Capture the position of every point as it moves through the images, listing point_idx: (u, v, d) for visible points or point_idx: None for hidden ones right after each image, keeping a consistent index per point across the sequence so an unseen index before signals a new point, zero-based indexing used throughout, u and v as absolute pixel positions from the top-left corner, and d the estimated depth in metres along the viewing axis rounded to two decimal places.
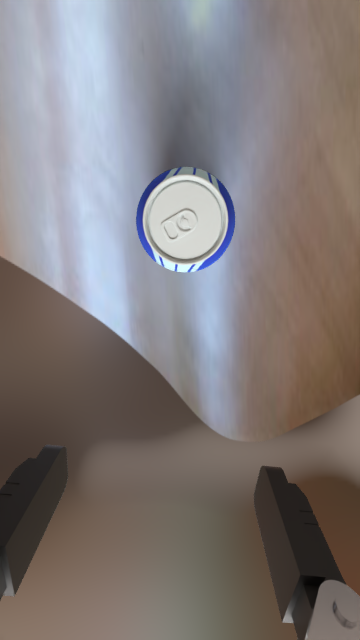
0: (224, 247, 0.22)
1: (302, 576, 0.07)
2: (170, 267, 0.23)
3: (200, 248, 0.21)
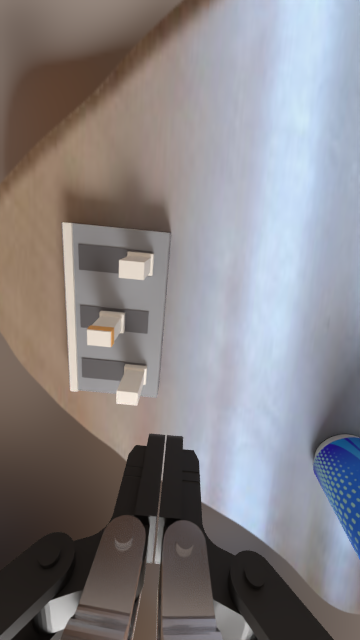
0: None
1: (160, 518, 0.08)
2: None
3: None
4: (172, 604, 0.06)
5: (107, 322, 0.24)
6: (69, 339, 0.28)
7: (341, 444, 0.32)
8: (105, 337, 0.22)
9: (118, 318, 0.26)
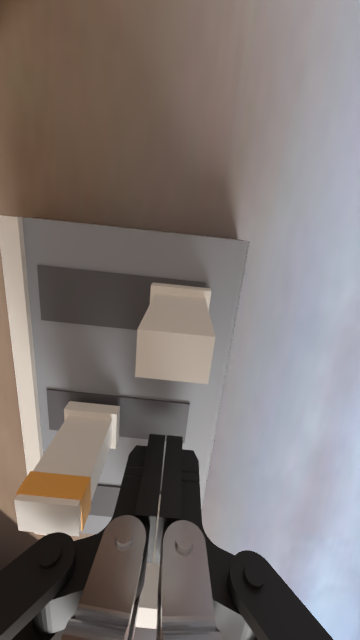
0: None
1: (160, 518, 0.08)
2: None
3: None
4: (172, 604, 0.06)
5: (77, 448, 0.10)
6: (27, 452, 0.14)
7: None
8: (64, 516, 0.08)
9: (104, 425, 0.12)
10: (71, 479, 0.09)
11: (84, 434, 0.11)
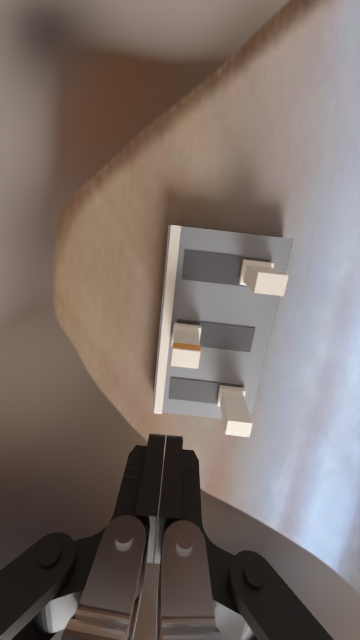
0: None
1: (160, 518, 0.08)
2: None
3: None
4: (172, 604, 0.06)
5: (188, 338, 0.21)
6: (160, 357, 0.25)
7: None
8: (193, 357, 0.19)
9: (196, 332, 0.22)
10: (192, 345, 0.20)
11: (188, 334, 0.22)
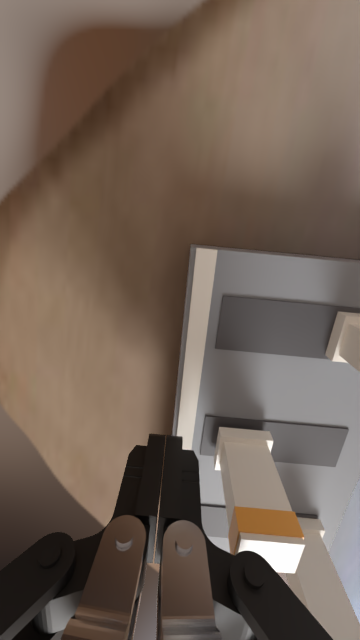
0: None
1: (160, 518, 0.08)
2: None
3: None
4: (172, 604, 0.06)
5: (258, 479, 0.10)
6: None
7: None
8: (287, 554, 0.08)
9: (265, 453, 0.12)
10: (278, 514, 0.09)
11: (254, 463, 0.11)
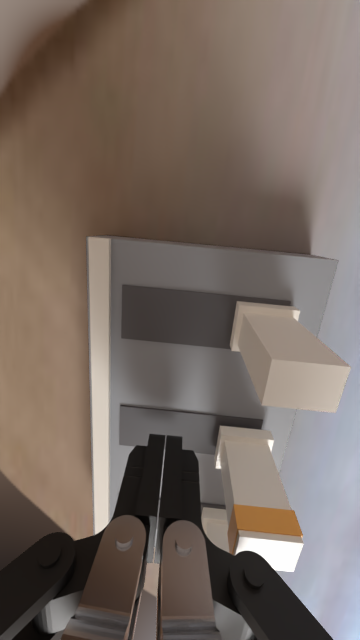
0: None
1: (160, 518, 0.08)
2: None
3: None
4: (172, 604, 0.06)
5: (258, 477, 0.10)
6: (96, 466, 0.14)
7: None
8: (285, 553, 0.08)
9: (266, 452, 0.12)
10: (277, 513, 0.09)
11: (254, 462, 0.11)
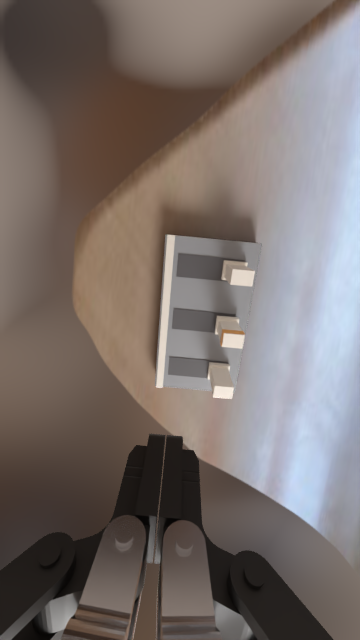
0: None
1: (160, 518, 0.08)
2: None
3: None
4: (172, 604, 0.06)
5: (231, 326, 0.27)
6: (161, 339, 0.31)
7: None
8: (239, 340, 0.25)
9: (235, 322, 0.28)
10: (237, 331, 0.26)
11: (230, 324, 0.28)
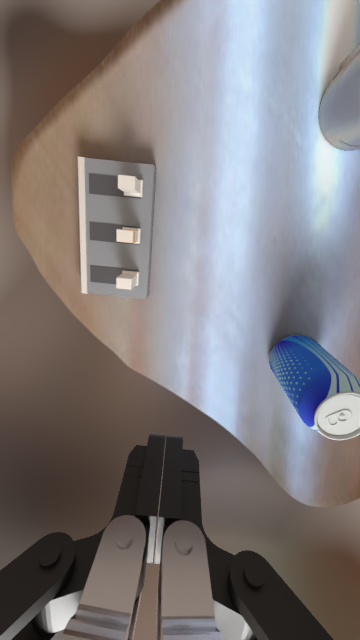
0: None
1: (160, 518, 0.08)
2: None
3: (350, 429, 0.31)
4: (172, 604, 0.06)
5: None
6: (81, 249, 0.38)
7: (288, 339, 0.42)
8: (129, 235, 0.32)
9: (136, 230, 0.35)
10: None
11: None
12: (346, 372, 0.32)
